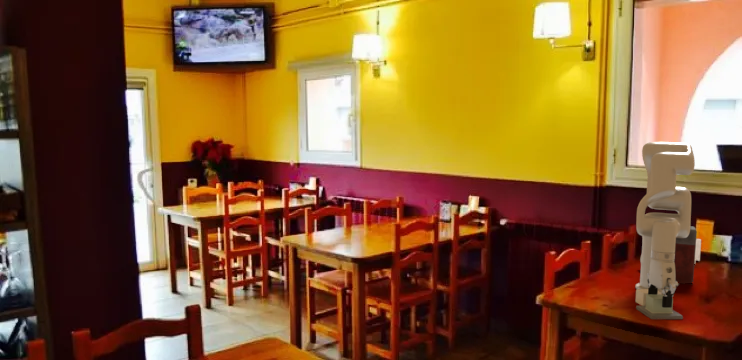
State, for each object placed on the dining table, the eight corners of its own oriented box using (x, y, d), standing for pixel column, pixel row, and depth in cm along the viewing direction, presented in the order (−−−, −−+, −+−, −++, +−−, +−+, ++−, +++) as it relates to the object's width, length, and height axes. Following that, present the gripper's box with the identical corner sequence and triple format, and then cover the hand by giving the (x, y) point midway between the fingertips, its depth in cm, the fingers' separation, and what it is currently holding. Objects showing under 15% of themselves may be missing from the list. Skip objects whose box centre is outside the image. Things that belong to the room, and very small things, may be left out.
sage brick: (664, 308, 209) (665, 294, 209) (672, 312, 205) (673, 298, 204) (645, 307, 209) (646, 294, 209) (652, 312, 204) (653, 298, 204)
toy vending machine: (691, 277, 255) (695, 215, 253) (693, 284, 245) (697, 218, 242) (668, 275, 259) (672, 213, 256) (669, 281, 249) (673, 217, 246)
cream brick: (653, 301, 221) (653, 289, 221) (660, 306, 216) (661, 292, 216) (635, 302, 221) (636, 289, 220) (642, 306, 216) (643, 293, 215)
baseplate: (665, 308, 213) (665, 305, 213) (682, 319, 202) (682, 315, 202) (636, 308, 212) (636, 305, 212) (651, 319, 201) (651, 315, 201)
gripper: (687, 261, 196) (683, 311, 198) (660, 250, 214) (657, 295, 215) (665, 261, 196) (661, 310, 198) (640, 250, 213) (637, 295, 215)
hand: (659, 302), depth 207 cm, fingers open, 9 cm apart
